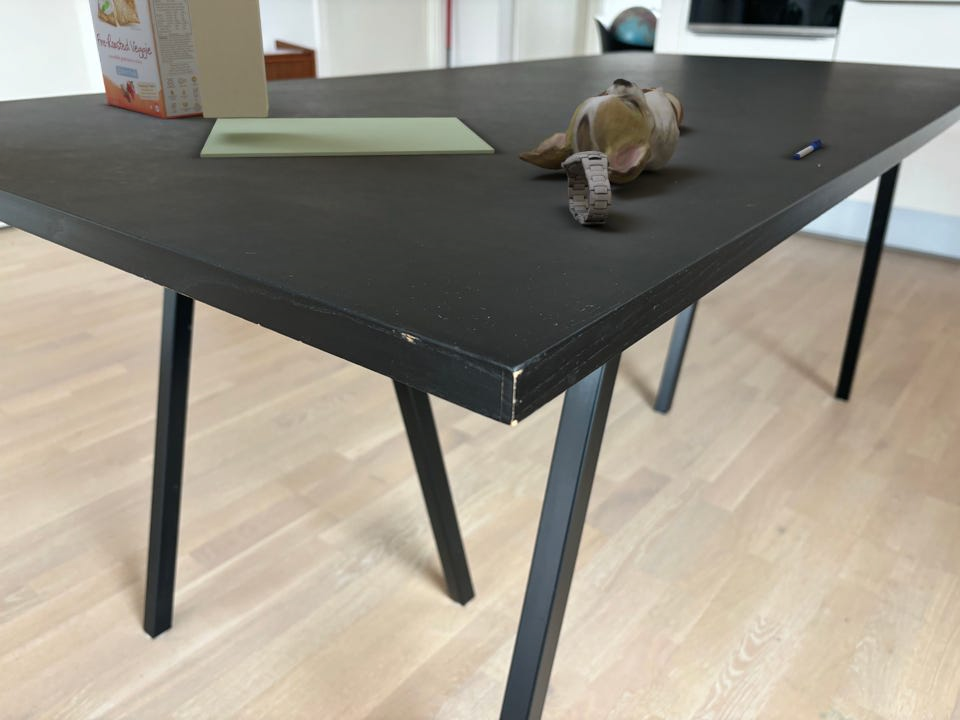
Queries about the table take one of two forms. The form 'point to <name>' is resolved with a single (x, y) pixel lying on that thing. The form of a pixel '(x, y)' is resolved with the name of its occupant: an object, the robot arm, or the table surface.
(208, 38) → the cream rectangular block
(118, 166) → the table surface
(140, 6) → the cracker box
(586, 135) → the ceramic sculpture
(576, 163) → the wristwatch
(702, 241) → the table surface
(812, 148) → the blue and white marker
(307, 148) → the mat
